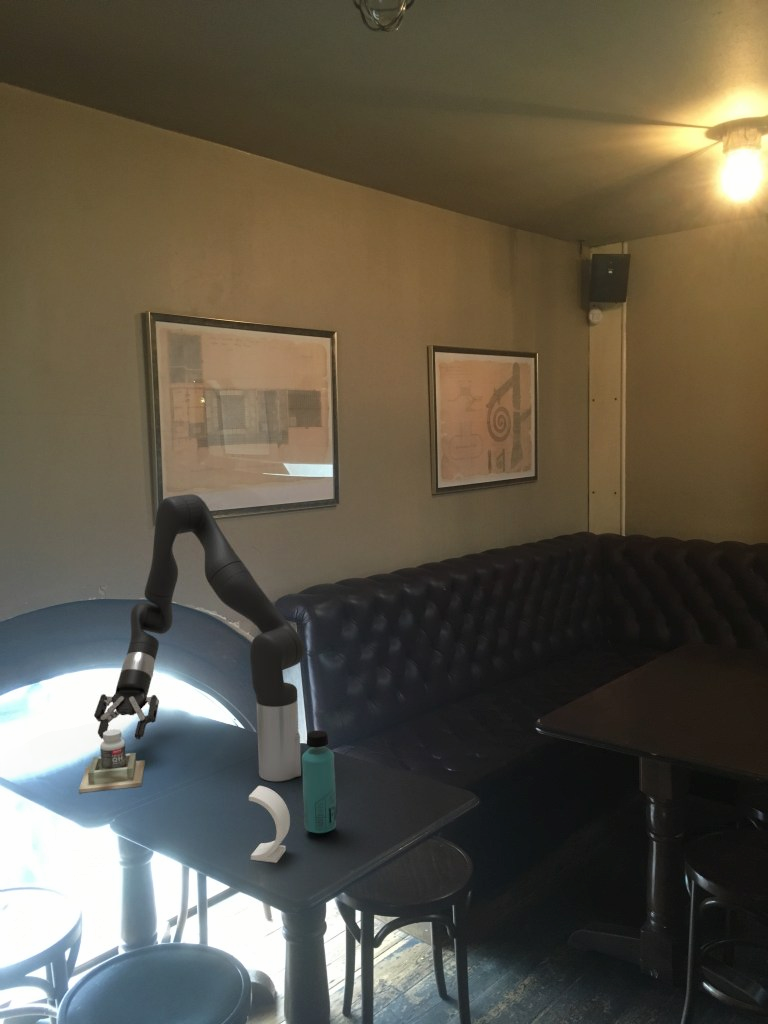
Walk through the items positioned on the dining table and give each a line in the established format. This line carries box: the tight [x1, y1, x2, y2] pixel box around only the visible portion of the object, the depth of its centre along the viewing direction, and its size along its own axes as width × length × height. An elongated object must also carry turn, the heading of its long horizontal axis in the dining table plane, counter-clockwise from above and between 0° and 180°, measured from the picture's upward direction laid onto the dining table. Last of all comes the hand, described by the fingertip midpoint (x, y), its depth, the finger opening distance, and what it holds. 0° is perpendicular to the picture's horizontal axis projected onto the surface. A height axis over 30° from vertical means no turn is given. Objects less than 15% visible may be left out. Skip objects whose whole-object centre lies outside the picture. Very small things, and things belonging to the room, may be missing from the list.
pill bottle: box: [99, 728, 127, 770], centre depth 184 cm, size 5×5×10 cm
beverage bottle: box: [301, 730, 338, 834], centre depth 156 cm, size 6×7×20 cm
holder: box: [78, 752, 146, 794], centre depth 184 cm, size 13×13×4 cm
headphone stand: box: [248, 785, 291, 864], centre depth 148 cm, size 5×6×12 cm
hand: (119, 737), depth 188 cm, fingers open, 8 cm apart
